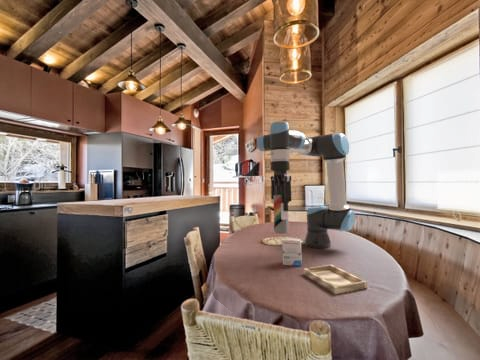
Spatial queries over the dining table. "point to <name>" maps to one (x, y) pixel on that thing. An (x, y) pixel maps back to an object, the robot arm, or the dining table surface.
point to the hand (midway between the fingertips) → (281, 218)
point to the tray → (335, 279)
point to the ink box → (291, 252)
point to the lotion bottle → (279, 214)
